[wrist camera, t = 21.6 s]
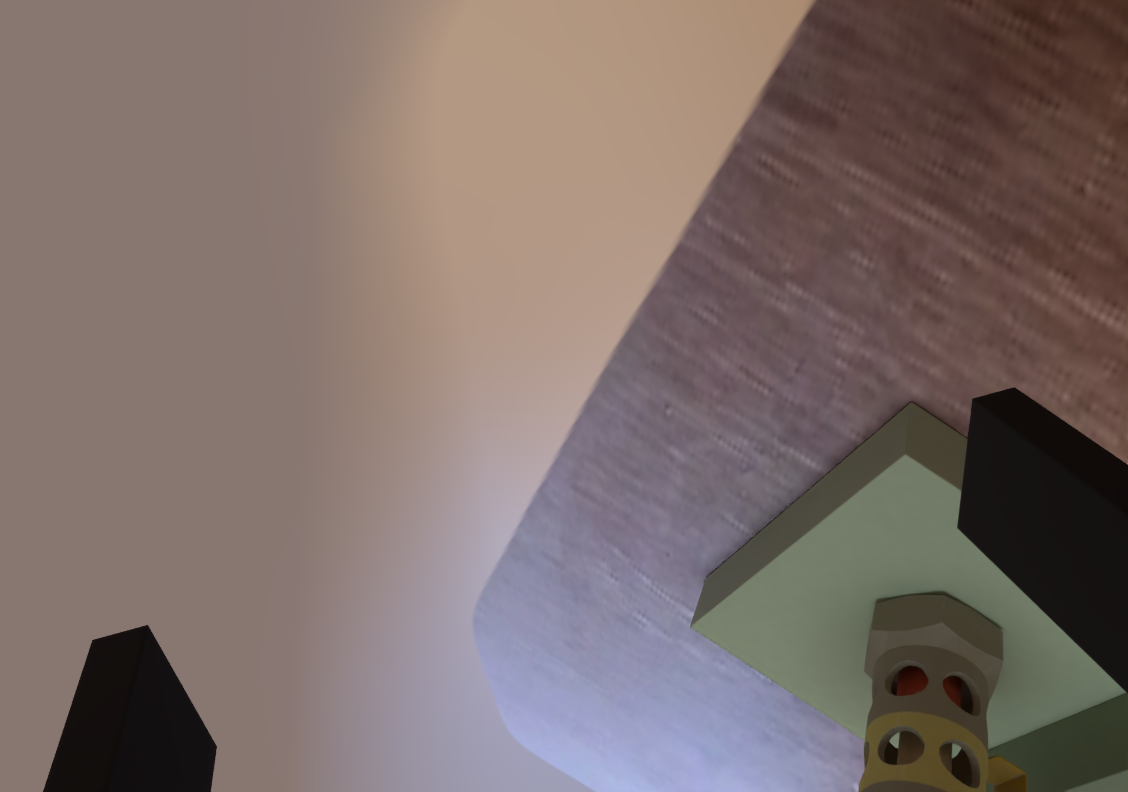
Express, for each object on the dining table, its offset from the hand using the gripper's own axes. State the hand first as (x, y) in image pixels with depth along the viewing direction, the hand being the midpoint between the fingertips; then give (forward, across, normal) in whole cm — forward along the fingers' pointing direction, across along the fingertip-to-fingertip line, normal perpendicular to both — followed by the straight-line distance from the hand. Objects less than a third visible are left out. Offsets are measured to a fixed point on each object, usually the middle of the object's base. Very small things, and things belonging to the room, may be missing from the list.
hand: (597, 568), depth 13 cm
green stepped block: (+12, +16, -18) cm, 27 cm away
